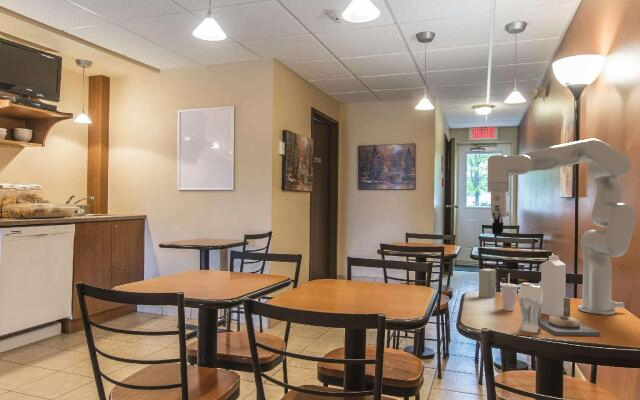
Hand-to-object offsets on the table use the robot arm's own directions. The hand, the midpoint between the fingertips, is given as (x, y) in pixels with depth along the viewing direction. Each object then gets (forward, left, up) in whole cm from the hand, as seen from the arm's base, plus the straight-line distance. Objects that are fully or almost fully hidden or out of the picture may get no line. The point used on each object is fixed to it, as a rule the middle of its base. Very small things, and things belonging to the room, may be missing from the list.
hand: (497, 233), depth 170 cm
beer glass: (-2, +24, -30) cm, 39 cm away
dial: (-15, +20, -28) cm, 38 cm away
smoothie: (-6, -4, -30) cm, 31 cm away
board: (-14, +21, -30) cm, 39 cm away
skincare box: (-6, -27, -30) cm, 41 cm away
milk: (-20, +2, -30) cm, 37 cm away
